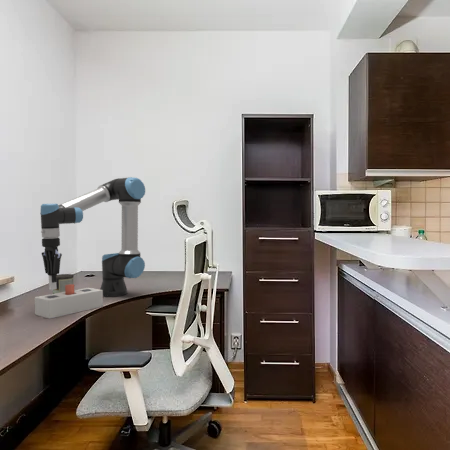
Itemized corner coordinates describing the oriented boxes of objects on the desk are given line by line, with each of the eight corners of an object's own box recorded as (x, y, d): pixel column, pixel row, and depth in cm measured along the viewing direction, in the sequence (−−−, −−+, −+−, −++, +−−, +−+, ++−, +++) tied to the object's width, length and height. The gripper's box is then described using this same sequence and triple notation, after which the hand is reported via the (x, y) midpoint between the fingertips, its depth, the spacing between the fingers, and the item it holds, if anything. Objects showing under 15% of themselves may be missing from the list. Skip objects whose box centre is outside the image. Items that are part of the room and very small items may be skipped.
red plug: (71, 298, 197) (71, 284, 197) (76, 299, 195) (76, 284, 195) (63, 300, 194) (63, 285, 194) (68, 301, 192) (68, 286, 191)
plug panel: (88, 303, 209) (87, 287, 209) (102, 306, 202) (102, 290, 202) (35, 314, 187) (34, 297, 187) (49, 318, 180) (48, 300, 180)
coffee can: (48, 305, 205) (48, 277, 205) (57, 300, 216) (57, 274, 215) (69, 305, 205) (68, 277, 205) (77, 300, 215) (76, 273, 215)
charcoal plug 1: (54, 310, 190) (53, 295, 190) (59, 311, 188) (58, 296, 188) (45, 311, 187) (45, 296, 187) (50, 313, 185) (50, 297, 184)
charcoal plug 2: (87, 302, 205) (87, 288, 204) (92, 303, 202) (92, 289, 202) (80, 304, 201) (80, 290, 201) (85, 305, 199) (85, 291, 199)
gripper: (35, 237, 187) (37, 289, 188) (50, 238, 179) (53, 292, 181) (50, 236, 193) (52, 286, 194) (66, 237, 185) (68, 289, 187)
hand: (52, 289), depth 187 cm, fingers closed
